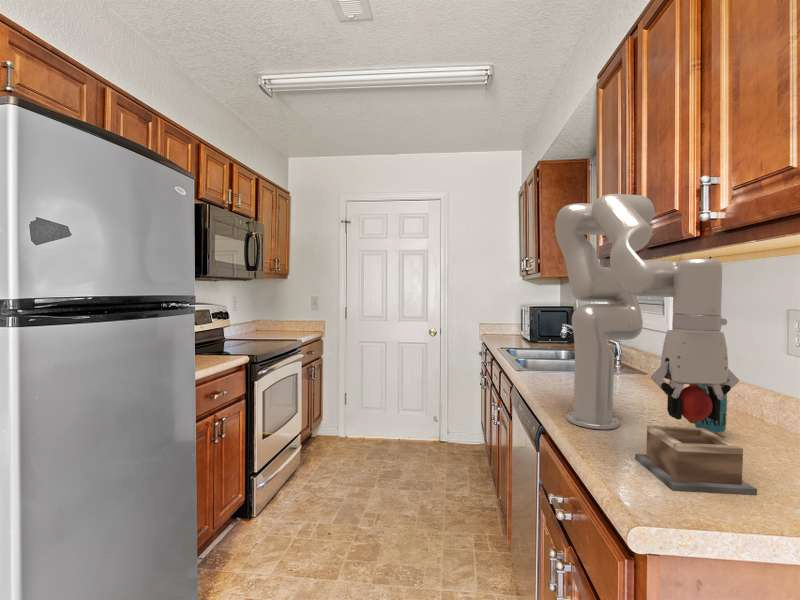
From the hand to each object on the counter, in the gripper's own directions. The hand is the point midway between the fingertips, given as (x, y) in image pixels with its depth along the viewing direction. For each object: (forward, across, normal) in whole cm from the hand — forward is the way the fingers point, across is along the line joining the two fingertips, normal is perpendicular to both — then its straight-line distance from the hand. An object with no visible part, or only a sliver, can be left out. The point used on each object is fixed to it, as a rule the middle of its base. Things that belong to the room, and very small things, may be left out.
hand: (693, 417), depth 80 cm
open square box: (+11, 0, 0) cm, 11 cm away
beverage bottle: (+11, -19, -25) cm, 34 cm away
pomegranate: (+1, 0, 0) cm, 1 cm away
